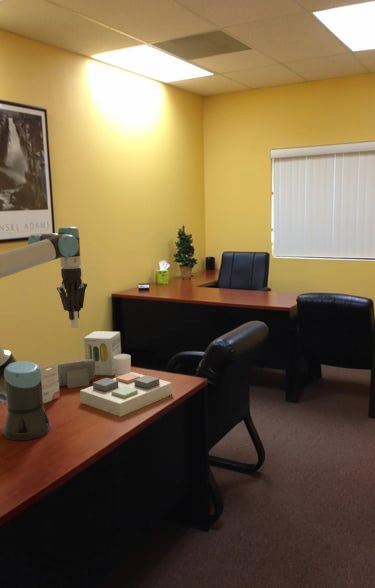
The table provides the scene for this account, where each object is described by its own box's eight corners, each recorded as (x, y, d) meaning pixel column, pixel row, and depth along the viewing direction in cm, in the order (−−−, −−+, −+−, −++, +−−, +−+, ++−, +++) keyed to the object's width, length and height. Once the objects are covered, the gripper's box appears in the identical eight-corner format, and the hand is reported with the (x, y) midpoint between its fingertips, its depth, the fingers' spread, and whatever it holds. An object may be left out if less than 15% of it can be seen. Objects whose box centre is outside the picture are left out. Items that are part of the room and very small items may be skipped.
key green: (124, 407, 193) (124, 395, 192) (112, 403, 198) (111, 391, 197) (138, 402, 198) (137, 389, 198) (125, 398, 203) (125, 386, 202)
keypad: (120, 416, 188) (119, 403, 188) (80, 402, 203) (80, 390, 202) (172, 394, 209) (171, 382, 208) (132, 383, 224) (132, 371, 223)
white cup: (125, 374, 236) (124, 352, 235) (135, 378, 230) (134, 356, 229) (110, 378, 232) (109, 356, 230) (120, 382, 226) (118, 360, 224)
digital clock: (95, 379, 230) (94, 356, 229) (96, 386, 222) (94, 362, 220) (58, 382, 227) (56, 359, 225) (57, 389, 219) (55, 365, 217)
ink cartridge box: (52, 395, 212) (49, 360, 210) (60, 397, 209) (57, 362, 207) (34, 401, 205) (32, 365, 203) (42, 404, 202) (40, 368, 200)
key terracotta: (128, 392, 209) (127, 380, 208) (116, 388, 214) (115, 377, 213) (140, 387, 214) (140, 376, 214) (128, 384, 219) (128, 372, 218)
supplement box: (85, 374, 237) (83, 337, 234) (96, 365, 250) (94, 330, 247) (112, 375, 234) (110, 338, 231) (122, 367, 247) (120, 331, 244)
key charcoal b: (147, 395, 202) (146, 383, 201) (134, 391, 206) (134, 379, 206) (159, 390, 207) (159, 378, 206) (147, 386, 212) (146, 375, 211)
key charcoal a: (105, 398, 200) (104, 386, 199) (93, 394, 204) (92, 382, 204) (118, 393, 205) (118, 381, 204) (107, 389, 210) (106, 377, 209)
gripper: (62, 269, 191) (66, 332, 195) (90, 266, 200) (94, 325, 204) (50, 268, 196) (55, 329, 199) (78, 265, 205) (82, 323, 209)
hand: (74, 327), depth 202 cm, fingers closed
